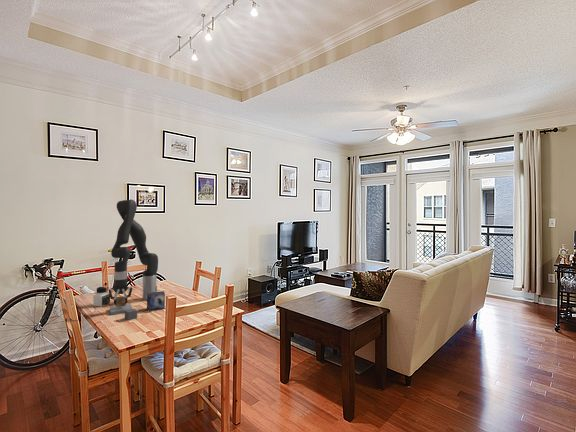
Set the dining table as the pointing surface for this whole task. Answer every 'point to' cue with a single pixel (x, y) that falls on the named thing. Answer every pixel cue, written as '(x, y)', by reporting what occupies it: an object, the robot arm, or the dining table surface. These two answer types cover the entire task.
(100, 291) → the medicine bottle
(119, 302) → the walnut cube
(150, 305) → the small box
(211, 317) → the dining table surface
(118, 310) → the slate coaster
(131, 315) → the charcoal block
